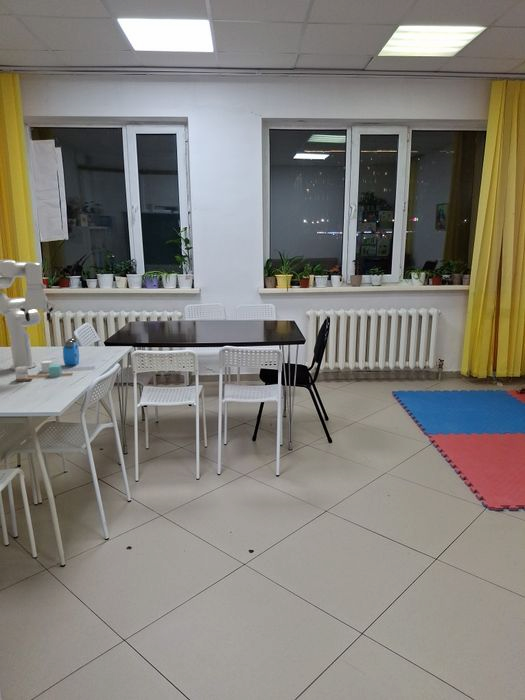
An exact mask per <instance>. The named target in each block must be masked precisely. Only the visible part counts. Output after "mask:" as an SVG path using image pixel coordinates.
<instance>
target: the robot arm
mask: <svg viewBox="0 0 525 700" xmlns="http://www.w3.org/2000/svg"><path fill="white" fill-rule="evenodd" d="M24 277H25V284H26V290H25V296H24V297H9V296H7V294H5V293H4V292H2V291H1V290H0V314H1V315H2V316H4V320H5V324H6V326H7V331H8V336H9V342H10V351H11V358H12V364H11V365H10V370H13V371H14V370H15V369H16V368H17V367H25V366H27V368H28V370H29V369H32V368H33V369H34V368H35V367H36V366H37V363H36V362H33V355H32V354H33V353H32V347H31V339H30V334H29V332H28V331H27V330H26V329H25V328H26V327H32V326H37V325H39V324H40V323H41V320H42V318H41V317H42V316H41V314H40V312H39V310H40V311H43V310H45V312H46V321H47V322H50V320H51V319H52V316H51V314H52V313H51V312H53V310H54V309H55V307H56V303H54V302H52V301H49V299H48V296H47V295H48V294H47V291H46V288H47V285H46V284H44V283H43V273H42V265H41V263H39V262H32V261H16V260H13V259H0V289H9V288H11V286H13V283H14V281H15V280H16V278H24ZM49 305H50V306H51V307H50V308H49Z"/></svg>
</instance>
